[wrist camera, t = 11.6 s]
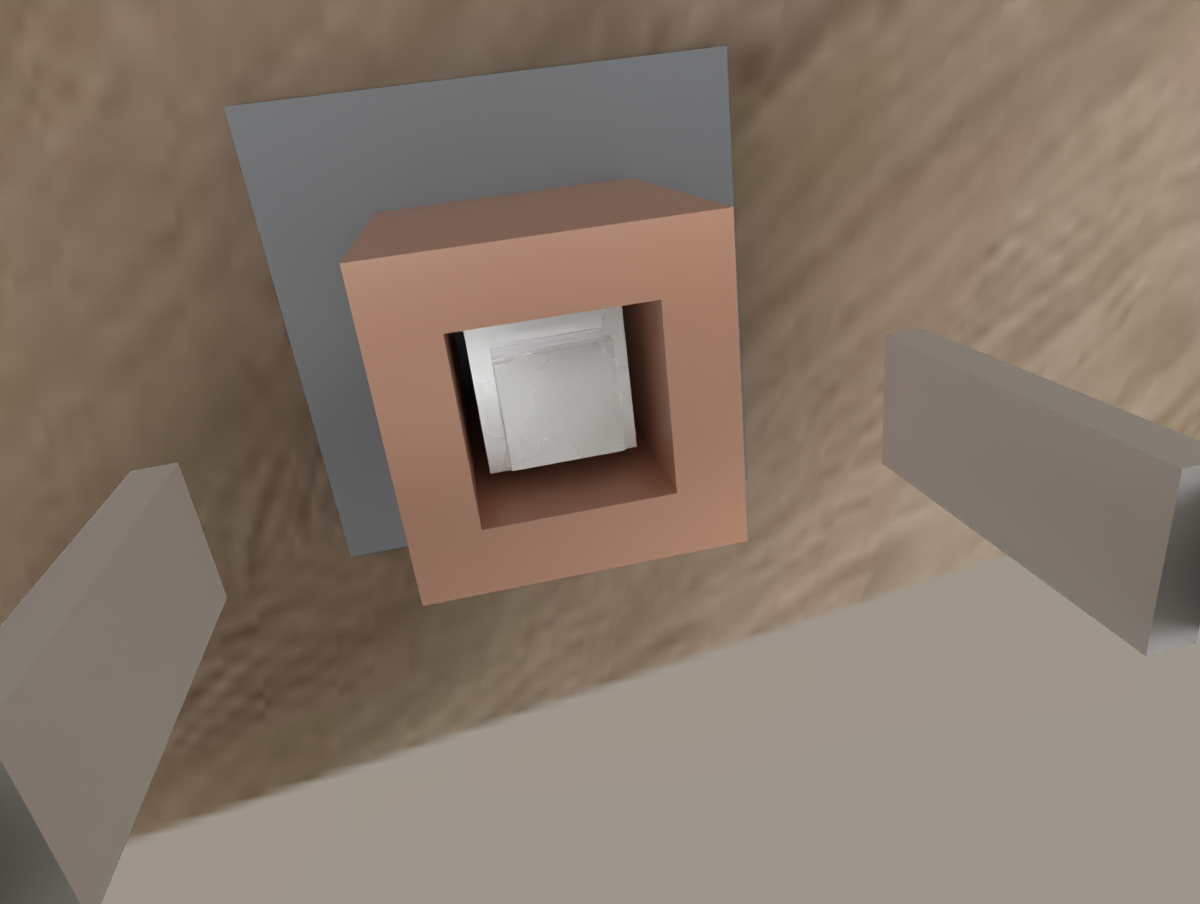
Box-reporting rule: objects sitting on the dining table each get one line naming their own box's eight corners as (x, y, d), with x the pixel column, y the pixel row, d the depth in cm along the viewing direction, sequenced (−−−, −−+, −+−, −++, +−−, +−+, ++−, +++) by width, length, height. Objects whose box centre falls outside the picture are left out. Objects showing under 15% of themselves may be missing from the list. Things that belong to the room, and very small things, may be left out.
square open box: (426, 453, 26) (422, 606, 18) (374, 212, 23) (339, 263, 15) (653, 413, 27) (747, 541, 19) (631, 177, 24) (733, 207, 16)
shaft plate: (354, 539, 28) (350, 557, 27) (233, 107, 22) (223, 106, 21) (735, 467, 30) (746, 480, 28) (713, 49, 24) (726, 45, 23)
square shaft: (477, 385, 25) (493, 495, 18) (455, 272, 24) (464, 340, 16) (587, 366, 26) (648, 465, 18) (573, 254, 24) (633, 313, 17)
